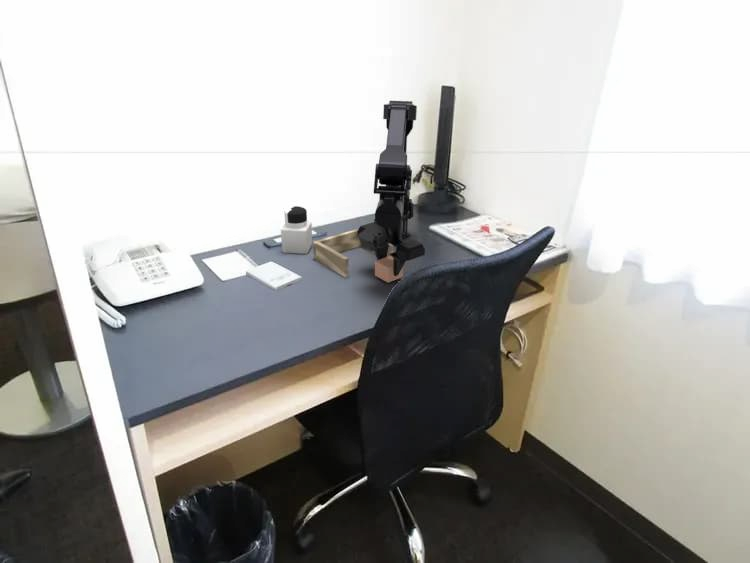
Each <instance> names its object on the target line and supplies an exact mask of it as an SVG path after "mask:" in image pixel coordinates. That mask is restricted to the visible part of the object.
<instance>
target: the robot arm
mask: <svg viewBox="0 0 750 563" xmlns="http://www.w3.org/2000/svg"><path fill="white" fill-rule="evenodd" d="M417 109H418V106H417V105H416V104H414V103H413V101H412V100H411V101H409V100H389V102H388V103H386V104H383V116H382V119H383V120H386V121H385V122H386V123H385V124H386V129H387V137H386V146H385V149H384V150H383V151H382V152H381V153H380V154H379V159H378V163H376V164H375V173H374V182H373V194H377V195H379V201H378V203H377V205H376V209H375V212H374V220H373V221H372V222H370V223H366V224H363V225H360V226H359V228H357V229H358V237H359V240H360V243H361V246H362V247H363V248H362V247H361V248H362V249H364V248H366V249H368V250H369V252H370V251H374V252H375V257H376V261H377V260H380V259H383V258H385V257H387V253H388V248H389V245H391V246H393V247H394V248H395V251H393V253H391V254H390V255H391V256H392V257H393V264H394V276H397V275H398V274H399V273H400V271H401V269H402V268H403V269H404V266H405V264H406V262H407V261H408V262H409V261H410V262H411V261H412V260H414V259H417V258H420V257H422V256H425V255H426V254H425V253H426V246H425V244H423V243H421V242H419V241H417V240H415V239H413V238H412V239H409V240H407V241H404V240H402V239H405V238H408V237H410V236H411V233H409V232H408V224H409V222H408V221H409V220H411V219H413V218H414V212H415V211H414V209H415V204H414V203H413V199H412V198H411V197H410V194H411V189H412V178H413V177H412V176H413V170H412V169H411V165H408V153H407V146H408V136H409V135H410V133H411V132H412V130H413V128H414V121H417V114H418V113H417V112H418V110H417ZM366 249H365V250H366ZM368 250H367V251H368Z"/></svg>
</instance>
